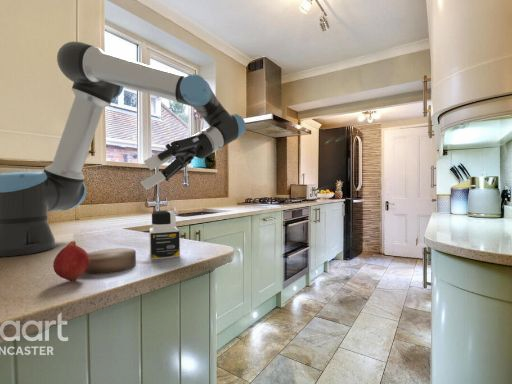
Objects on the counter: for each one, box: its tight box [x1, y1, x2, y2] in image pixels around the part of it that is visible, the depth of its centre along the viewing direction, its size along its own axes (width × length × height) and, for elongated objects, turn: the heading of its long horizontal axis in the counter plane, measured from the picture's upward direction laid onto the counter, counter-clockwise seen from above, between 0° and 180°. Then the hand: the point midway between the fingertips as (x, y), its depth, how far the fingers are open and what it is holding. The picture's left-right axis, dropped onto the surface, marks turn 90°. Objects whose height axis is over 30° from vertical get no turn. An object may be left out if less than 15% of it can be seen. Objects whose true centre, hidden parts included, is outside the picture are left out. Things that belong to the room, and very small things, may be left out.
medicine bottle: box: [148, 209, 181, 261], centre depth 73 cm, size 7×7×12 cm
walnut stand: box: [83, 247, 137, 275], centre depth 63 cm, size 11×11×3 cm
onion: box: [52, 240, 89, 282], centre depth 53 cm, size 6×6×8 cm
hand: (145, 176), depth 73 cm, fingers open, 13 cm apart
